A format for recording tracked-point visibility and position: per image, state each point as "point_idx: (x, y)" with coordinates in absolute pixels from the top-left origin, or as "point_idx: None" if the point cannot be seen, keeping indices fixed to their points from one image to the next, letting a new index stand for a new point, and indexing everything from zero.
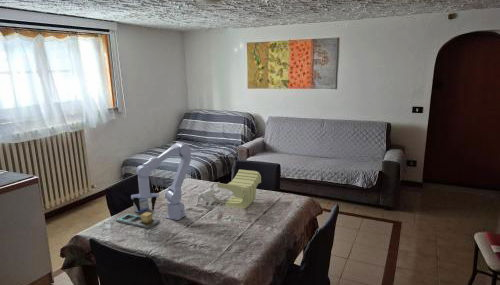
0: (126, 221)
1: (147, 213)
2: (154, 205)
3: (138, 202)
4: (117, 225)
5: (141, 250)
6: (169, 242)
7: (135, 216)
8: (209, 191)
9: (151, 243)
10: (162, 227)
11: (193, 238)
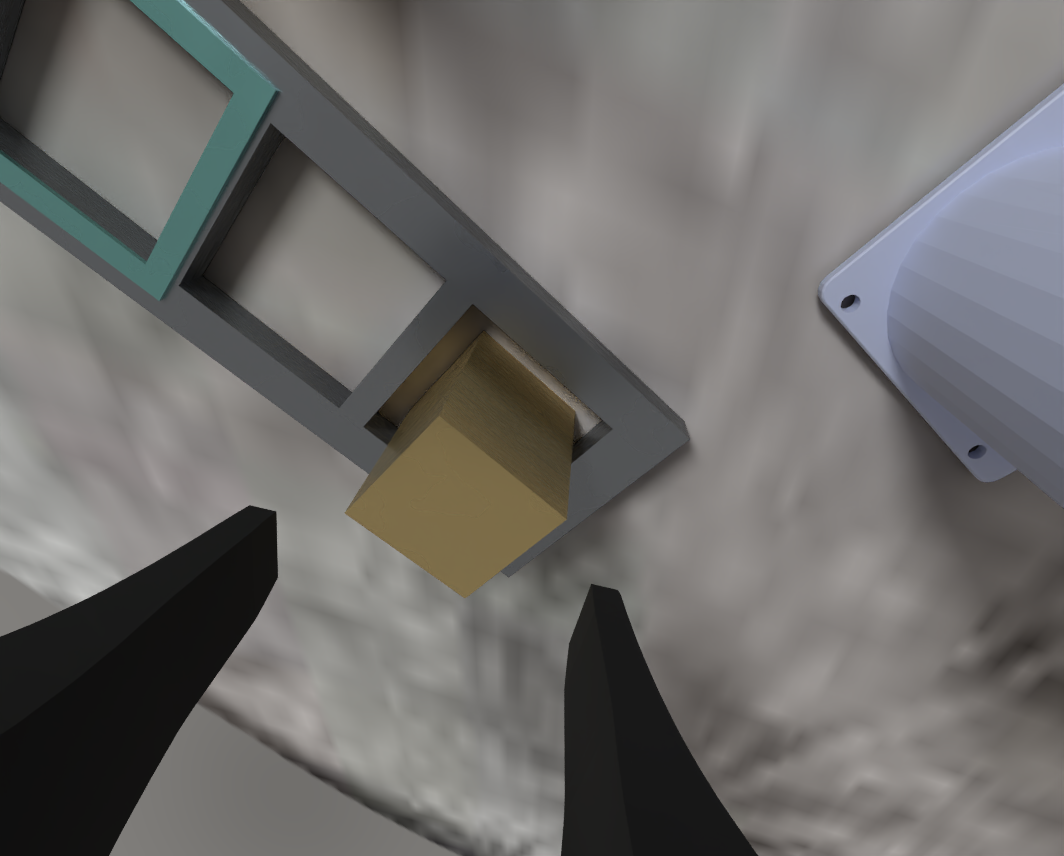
0: (121, 279)
1: (469, 497)
2: (644, 668)
3: (103, 781)
4: (25, 289)
5: (454, 827)
6: None
7: (219, 75)
8: None
9: (531, 787)
10: (684, 581)
11: (906, 847)
